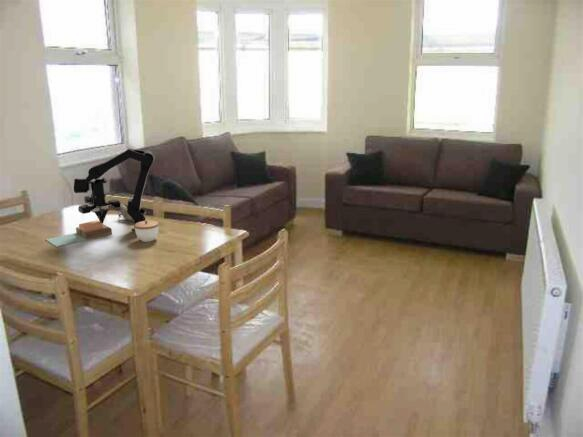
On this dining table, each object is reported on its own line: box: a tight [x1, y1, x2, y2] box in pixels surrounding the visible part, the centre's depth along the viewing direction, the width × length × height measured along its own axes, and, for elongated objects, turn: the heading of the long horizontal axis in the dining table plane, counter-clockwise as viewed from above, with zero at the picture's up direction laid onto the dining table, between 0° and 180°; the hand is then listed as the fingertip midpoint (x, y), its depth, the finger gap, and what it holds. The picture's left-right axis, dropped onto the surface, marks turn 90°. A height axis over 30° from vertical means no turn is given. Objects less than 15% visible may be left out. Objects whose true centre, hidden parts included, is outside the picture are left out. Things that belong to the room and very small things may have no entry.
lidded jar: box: [133, 219, 159, 243], centre depth 250 cm, size 11×11×9 cm
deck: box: [75, 223, 113, 241], centre depth 260 cm, size 13×12×3 cm
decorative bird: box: [118, 203, 133, 221], centre depth 282 cm, size 5×16×7 cm, turn 46°
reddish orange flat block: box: [78, 219, 104, 232], centre depth 259 cm, size 6×9×2 cm, turn 132°
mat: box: [45, 232, 88, 248], centre depth 252 cm, size 14×14×1 cm
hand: (101, 223), depth 262 cm, fingers closed
